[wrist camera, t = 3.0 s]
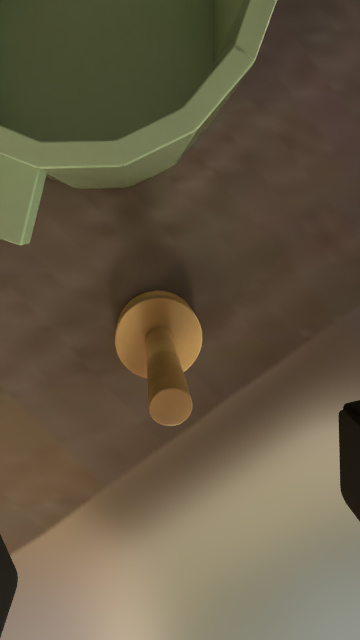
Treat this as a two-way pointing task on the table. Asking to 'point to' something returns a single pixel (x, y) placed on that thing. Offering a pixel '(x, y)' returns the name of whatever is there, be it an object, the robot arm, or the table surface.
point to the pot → (111, 90)
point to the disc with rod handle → (160, 350)
